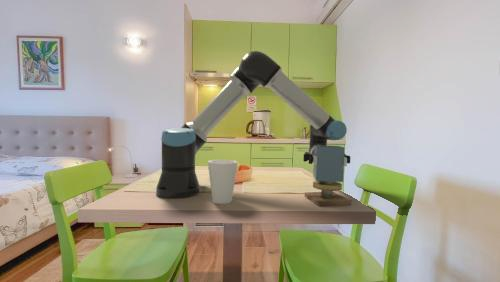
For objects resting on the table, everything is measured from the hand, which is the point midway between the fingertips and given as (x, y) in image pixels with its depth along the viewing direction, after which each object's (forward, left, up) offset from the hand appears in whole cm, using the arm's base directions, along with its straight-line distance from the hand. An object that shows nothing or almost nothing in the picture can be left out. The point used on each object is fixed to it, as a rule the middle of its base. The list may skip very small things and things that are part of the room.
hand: (330, 161), depth 75 cm
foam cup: (-8, -33, -14) cm, 37 cm away
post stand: (-4, +2, -14) cm, 15 cm away
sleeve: (-4, +2, -6) cm, 8 cm away
